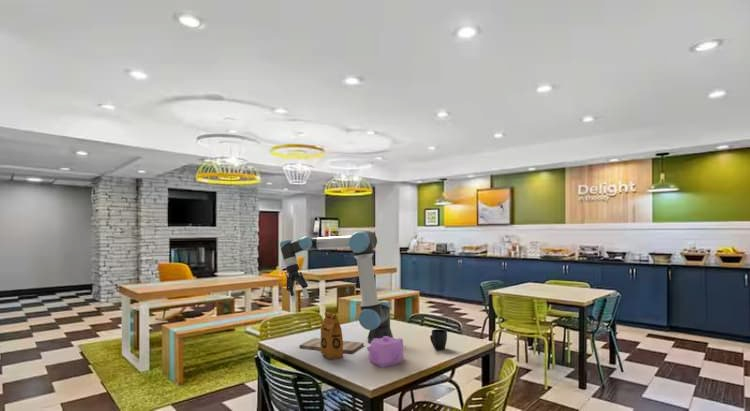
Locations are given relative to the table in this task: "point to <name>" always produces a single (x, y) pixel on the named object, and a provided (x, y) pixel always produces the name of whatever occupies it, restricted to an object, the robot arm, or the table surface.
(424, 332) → the table surface
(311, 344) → the walnut board
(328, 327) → the coffee package
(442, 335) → the mug
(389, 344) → the teakettle
